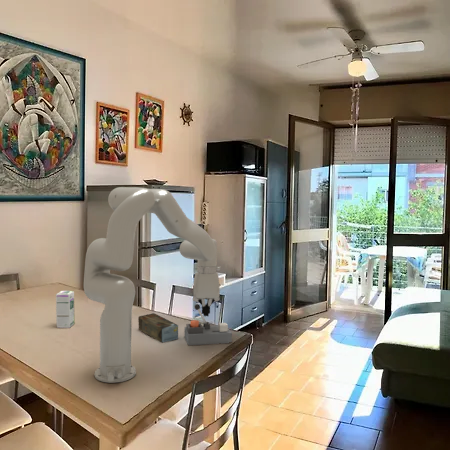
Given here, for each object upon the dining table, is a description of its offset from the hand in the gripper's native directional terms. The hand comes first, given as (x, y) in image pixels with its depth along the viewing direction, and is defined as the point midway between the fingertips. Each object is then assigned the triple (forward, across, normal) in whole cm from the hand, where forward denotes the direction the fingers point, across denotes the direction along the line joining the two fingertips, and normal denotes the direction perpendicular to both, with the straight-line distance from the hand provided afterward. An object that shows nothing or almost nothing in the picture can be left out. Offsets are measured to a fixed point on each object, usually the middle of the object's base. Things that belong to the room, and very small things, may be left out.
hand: (205, 315), depth 172 cm
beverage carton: (+10, +18, -7) cm, 22 cm away
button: (+4, +5, +3) cm, 7 cm away
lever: (+4, 0, 0) cm, 4 cm away
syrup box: (+9, +56, -24) cm, 61 cm away
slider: (+5, -6, +5) cm, 9 cm away
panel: (+9, 0, +2) cm, 9 cm away
